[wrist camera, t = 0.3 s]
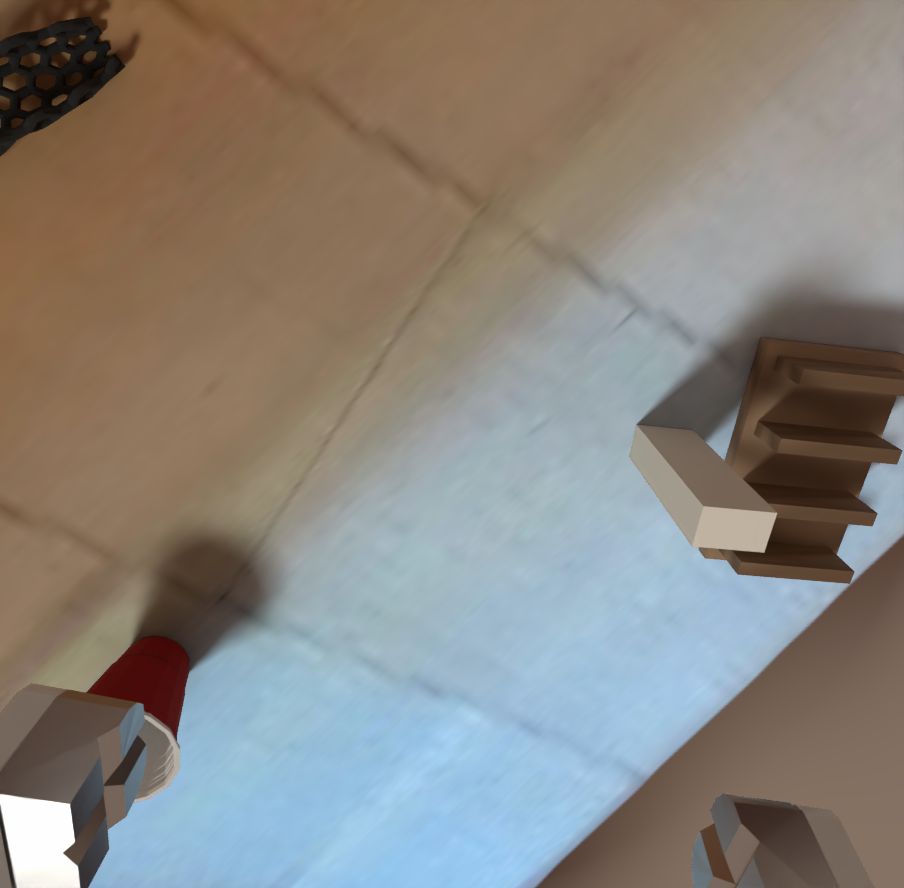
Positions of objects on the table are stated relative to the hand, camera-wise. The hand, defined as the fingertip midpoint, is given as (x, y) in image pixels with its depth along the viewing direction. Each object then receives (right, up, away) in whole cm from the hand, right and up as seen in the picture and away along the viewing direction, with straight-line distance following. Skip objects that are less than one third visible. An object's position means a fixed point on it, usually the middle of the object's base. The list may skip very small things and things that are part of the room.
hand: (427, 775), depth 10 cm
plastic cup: (-28, -16, +56) cm, 64 cm away
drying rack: (+30, +4, +50) cm, 58 cm away
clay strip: (+18, +5, +49) cm, 52 cm away
